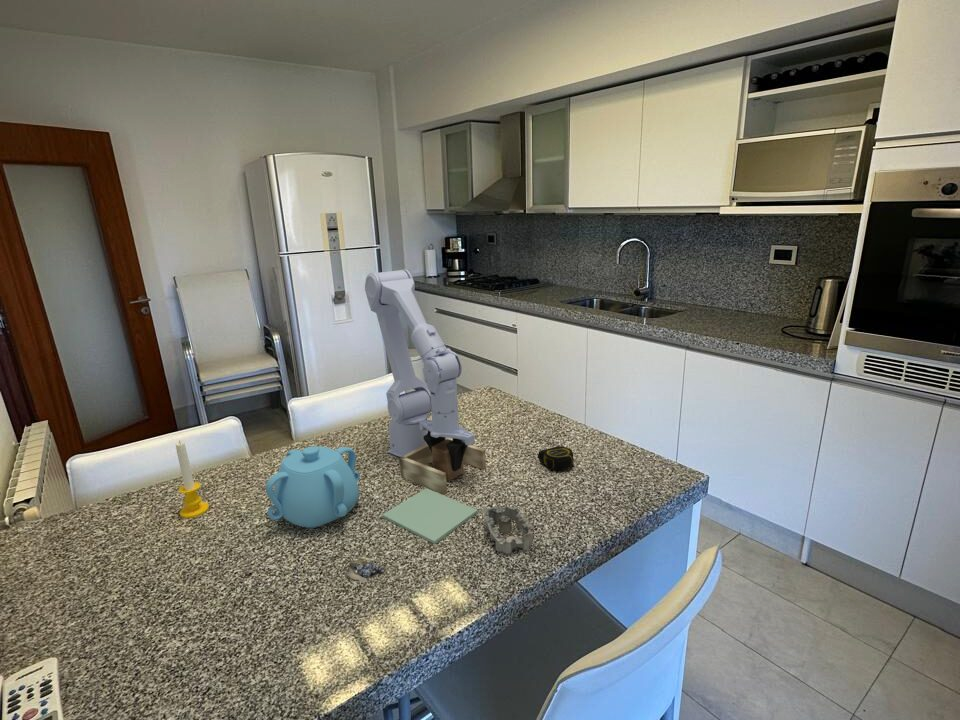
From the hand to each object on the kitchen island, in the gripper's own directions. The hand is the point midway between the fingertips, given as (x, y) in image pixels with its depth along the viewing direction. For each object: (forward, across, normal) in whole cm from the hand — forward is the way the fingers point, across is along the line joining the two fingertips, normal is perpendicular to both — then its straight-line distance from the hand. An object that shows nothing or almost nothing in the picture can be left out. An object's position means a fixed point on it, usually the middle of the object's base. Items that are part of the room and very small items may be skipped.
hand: (448, 466), depth 113 cm
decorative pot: (+2, -11, -26) cm, 28 cm away
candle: (+2, -32, -41) cm, 52 cm away
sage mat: (+2, +8, -14) cm, 16 cm away
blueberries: (+3, +11, -31) cm, 33 cm away
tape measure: (+2, +17, +17) cm, 24 cm away
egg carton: (+2, +24, -10) cm, 26 cm away
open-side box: (+2, -1, 0) cm, 2 cm away
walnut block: (+2, 0, 0) cm, 2 cm away
